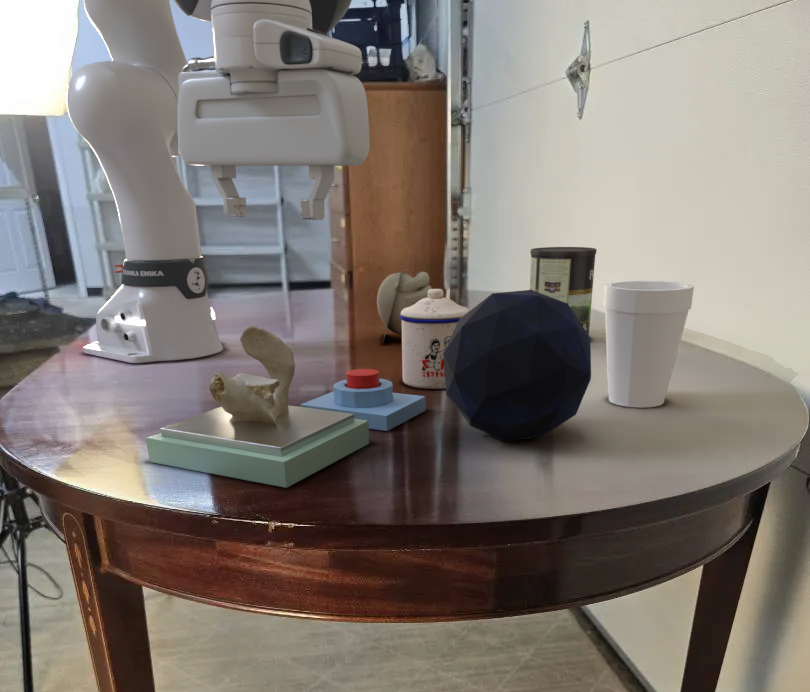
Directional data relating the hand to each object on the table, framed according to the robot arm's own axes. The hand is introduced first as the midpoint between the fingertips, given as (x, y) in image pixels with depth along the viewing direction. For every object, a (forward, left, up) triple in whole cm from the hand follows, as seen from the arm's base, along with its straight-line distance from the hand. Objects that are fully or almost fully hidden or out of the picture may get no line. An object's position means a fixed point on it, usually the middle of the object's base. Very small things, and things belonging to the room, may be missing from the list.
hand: (273, 218), depth 75 cm
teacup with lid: (+6, +26, -21) cm, 34 cm away
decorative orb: (+23, +7, -21) cm, 32 cm away
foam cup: (+31, +26, -21) cm, 46 cm away
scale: (+3, -9, -21) cm, 23 cm away
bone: (+4, -9, -18) cm, 20 cm away
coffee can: (+10, +61, -21) cm, 65 cm away
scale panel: (+5, +7, -21) cm, 23 cm away
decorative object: (-13, +51, -21) cm, 57 cm away
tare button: (+5, +7, -18) cm, 20 cm away
